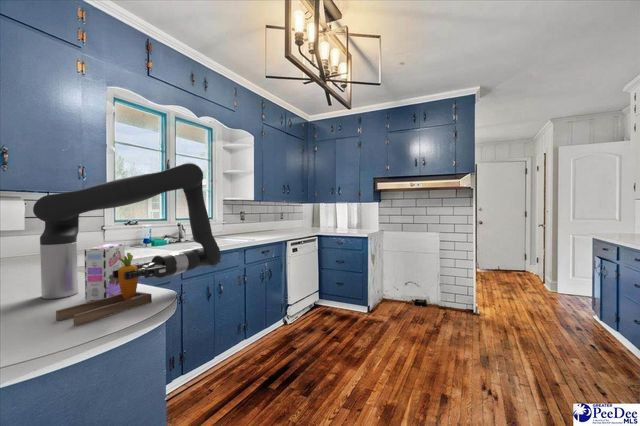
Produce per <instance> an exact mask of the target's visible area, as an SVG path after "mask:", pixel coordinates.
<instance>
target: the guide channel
mask: <svg viewBox="0 0 640 426" xmlns="http://www.w3.org/2000/svg"><path fill="white" fill-rule="evenodd" d="M152 297H153V295H152V293H147V292H142V291H136V293H135V296H134V297H132V298H130V299H129V300H125V299H124V297H123V295H122V293H121V292H120V293H118V294H114V295H113V296H111V297H107V298H103V299H99V300H95V301H91V302H85V303H81V304H77V305H72V306H69V307H64V308H61V309H58V310H55V318H56V319H55V321H57V322H60V321H63V320H66V319H70V318H73V326H75V327H77V326H79V325H80V326H81V325H82V324H83V325H84V324H87V323H89V322H92V321H96V320H99V319H103V318H106V317H109V316H112V315H114V314H118V313H121V312H125V311H129V310H131V309H134V308H138V307H141V306H143V305H147V304H150V303H152V301H153V300H152Z"/></svg>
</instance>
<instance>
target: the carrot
mask: <svg viewBox="0 0 640 426" xmlns="http://www.w3.org/2000/svg"><path fill="white" fill-rule="evenodd" d="M133 258H134V255H133V254H132V253H131V252H127V253H126V255H125V256H124V259H125V260H123V259H122V258H120V257H119V258H118V260H121V261H122V262H123V263H124V265H125V266H122V267H120V268H119V269H118V277H119V285H120V289H121V292H120V293H122V295H123V297H124V299H125V300H129V299H130V298H132V297H134V296H135V293H136V292H137V288H138V284H139V283H138V282H139V280H138V279H139V276H138V277H137V278H133V279H129V280H125V279H124V273H125V272H128V271H133V270H138V268H137V266H135V265H132V261H133Z"/></svg>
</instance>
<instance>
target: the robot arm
mask: <svg viewBox="0 0 640 426" xmlns="http://www.w3.org/2000/svg"><path fill="white" fill-rule="evenodd" d="M203 180H204V173H203V170H202V168H201V167H200V166H199V165H198V164H195V163H193V162H184V163H182V164H178V165H176V166H174V167H171V168H168V169H165V170H160V171H158V172H157V171H156V172H150V173H149V172H148V173H141V174H137V175H132V176H131V175H130V176H127V177H121V178H118V179H113V180H110V181H105V182H103V183H100V184H99V183H98V184H96V185H94V186H90V187H87V188H84V189H83V188H82V189H78V190H73V191H67V192H59V193H54V194H46V195H44V196H42V197H40V198H39V199H37V201H35V203H34V205H33V208H32V211H33V214H34V216H35V217H36V218H37V219H39V220H40V221H42V222H44V230H43V232H42V234H40V236H39V253H40V254H39V255H40V277H41V278H40V280H41V281H40V282H41V285H40V286H41V298H42V299H45V300H46V299H49V300H51V299H52V300H53V299H60V298H66V297H70V296H75V295H77V294H78V293H79V276H78V242H77V239H78V234H79V230H80V229H79V227H80V217H79V216H80V215H81V214H85V213H88V212H91V211H99V210H100V211H101V210H105V209H106V210H107V209H114V208H120V207H124V206H129V205H132V204H137V203H140V202H143V201H146V200H148V199H151V198H153V197H156V196H158V195H160V194H164V193H167V192H171V191H177V190H183V193H184V196H185V199H186V200H185V201H186V205H187V211H188V219H189V225H190V230H191V234H192V235H191V236H192V239H193V242H195V244H196V243H197V244H200V245H201V247H199V248H194V249H191V250H186V251H179V252H177V251H176V252H169V253H163V254H159V255H155V256H153V258H152V259H151V262H150V261H146V262H143V263H138V262H136V263H133V264H132V263H131V265H135V266H137V268H138V270H133V271H128V272H125V273H124V279H125V280H129V279H133V278H137V277H138V279H141V278H145V279H147V278H151V277H156V278H157V279H164V278H167V277H168V278H169V277H172V276H175V275H179V274H182V273H184V272H188V271H191V270H195V269H196V268H198V267H209V266H210V267H211V266H212V267H214V266H216V265H219V263H220V261H221V258H222V252H221V249H220V247H219V245H218V243H217V240H216V239H215V237H214V235H213V232H212V226H211V221H210V218H209V215H208V210H207V207H206V203H205V197H204V192H203V191H204V189H203ZM112 273H113V278H119V277H118V270H114V271H113V272H112Z"/></svg>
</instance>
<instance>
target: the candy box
mask: <svg viewBox="0 0 640 426" xmlns="http://www.w3.org/2000/svg"><path fill="white" fill-rule="evenodd" d="M124 256H126V255H125V243H106V244H103V245H99V246H98V245H97V246H94V247H89V248H84V284H85V285H84V286H85V287H84V291H85V292H84V293H85V295H84V296H85V303H88V302H91V301H95V300H99V299H103V298H107V297H111V296H113V295H114V294H118V293H121V289H120V285H119V278H113V273H112V272H113V271H114V270H118V269H119V268H120V267H122V266H125V265H124V263H123V262H122V261H121V260H118V258H119V257H120V258H122V259H123V260H125V259H124Z"/></svg>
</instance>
